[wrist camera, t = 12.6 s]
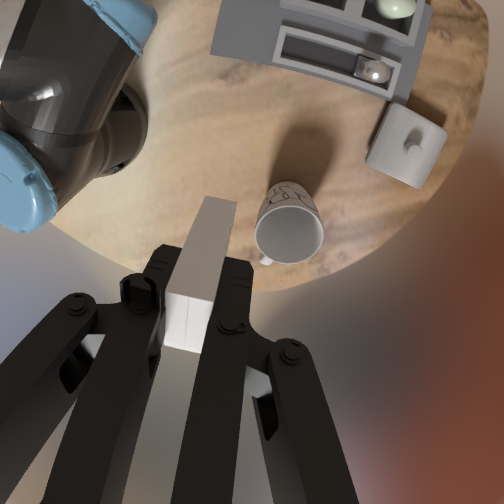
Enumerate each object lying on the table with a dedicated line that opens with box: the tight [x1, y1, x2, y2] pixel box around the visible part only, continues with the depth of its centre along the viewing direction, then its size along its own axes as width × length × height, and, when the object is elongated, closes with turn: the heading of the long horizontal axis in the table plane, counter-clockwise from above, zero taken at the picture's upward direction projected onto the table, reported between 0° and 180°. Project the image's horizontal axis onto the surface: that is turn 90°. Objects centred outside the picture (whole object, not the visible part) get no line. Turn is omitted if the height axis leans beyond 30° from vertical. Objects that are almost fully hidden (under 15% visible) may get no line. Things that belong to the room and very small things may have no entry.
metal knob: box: [352, 56, 390, 83], centre depth 30 cm, size 3×3×6 cm
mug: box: [254, 181, 324, 265], centre depth 43 cm, size 11×8×10 cm
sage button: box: [374, 0, 416, 20], centre depth 24 cm, size 4×4×4 cm
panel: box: [210, 0, 433, 107], centre depth 29 cm, size 26×16×6 cm, turn 78°
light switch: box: [365, 102, 448, 188], centre depth 37 cm, size 10×10×5 cm
